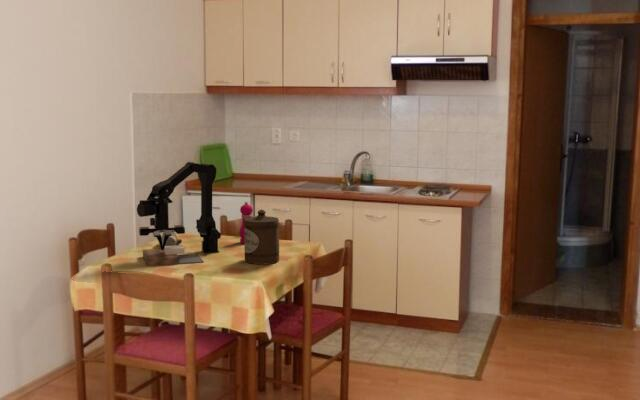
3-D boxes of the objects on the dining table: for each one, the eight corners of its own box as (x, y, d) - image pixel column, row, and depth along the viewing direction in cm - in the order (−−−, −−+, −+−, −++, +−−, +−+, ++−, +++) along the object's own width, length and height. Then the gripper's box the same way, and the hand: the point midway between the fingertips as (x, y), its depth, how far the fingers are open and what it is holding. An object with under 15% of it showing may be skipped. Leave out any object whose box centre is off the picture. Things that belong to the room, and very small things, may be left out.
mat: (197, 254, 325) (197, 253, 325) (203, 262, 310) (203, 261, 310) (174, 255, 322) (174, 255, 322) (179, 264, 307) (179, 263, 307)
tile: (182, 250, 319) (182, 245, 318) (184, 253, 313) (184, 247, 313) (163, 251, 316) (163, 246, 316) (165, 254, 311) (165, 248, 310)
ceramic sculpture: (154, 231, 332) (160, 227, 347) (154, 250, 333) (160, 245, 347) (178, 231, 332) (183, 227, 347) (178, 250, 333) (183, 245, 348)
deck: (173, 255, 324) (173, 248, 324) (178, 264, 307) (178, 257, 307) (143, 256, 320) (142, 250, 319) (146, 266, 303) (146, 258, 303)
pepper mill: (251, 244, 348) (251, 202, 345) (237, 243, 350) (236, 202, 347) (256, 241, 355) (255, 200, 352) (241, 240, 357) (241, 200, 354)
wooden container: (240, 258, 319) (239, 208, 316) (272, 255, 325) (272, 206, 322) (250, 265, 305) (250, 213, 302) (284, 262, 311) (284, 211, 308)
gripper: (181, 210, 321) (182, 245, 324) (137, 212, 316) (138, 247, 318) (184, 214, 311) (185, 250, 313) (139, 216, 305) (140, 253, 307)
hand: (162, 250), depth 313 cm, fingers closed
